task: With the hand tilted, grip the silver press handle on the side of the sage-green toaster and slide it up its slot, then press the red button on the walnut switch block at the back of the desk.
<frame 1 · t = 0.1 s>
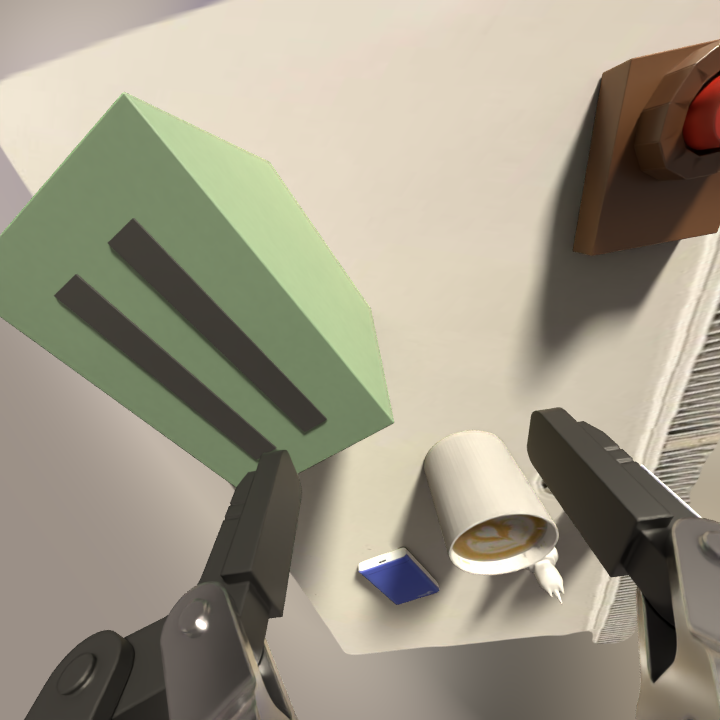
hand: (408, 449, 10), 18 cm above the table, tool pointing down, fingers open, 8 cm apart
white seated figurine: (527, 536, 44), on the table
hard drive: (399, 570, 47), on the table
toaster: (285, 274, 24), on the table
coffee mug: (467, 468, 36), on the table
switch block: (649, 160, 21), on the table
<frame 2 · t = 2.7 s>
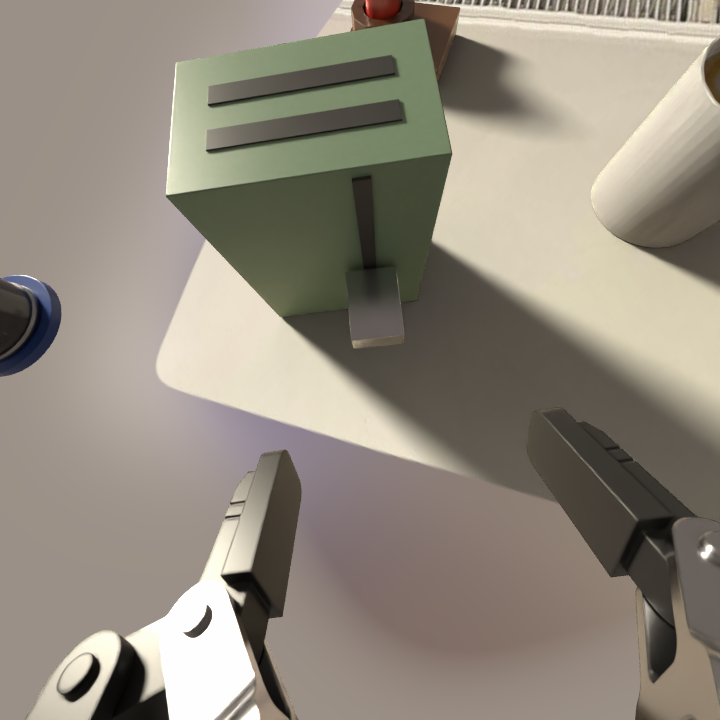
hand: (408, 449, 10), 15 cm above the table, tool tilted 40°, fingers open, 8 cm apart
toaster lever: (374, 308, 20), point 6 cm above the table, slide at 0.0 cm
toaster: (343, 269, 28), on the table
coffee mug: (665, 203, 27), on the table
switch block: (399, 55, 34), on the table
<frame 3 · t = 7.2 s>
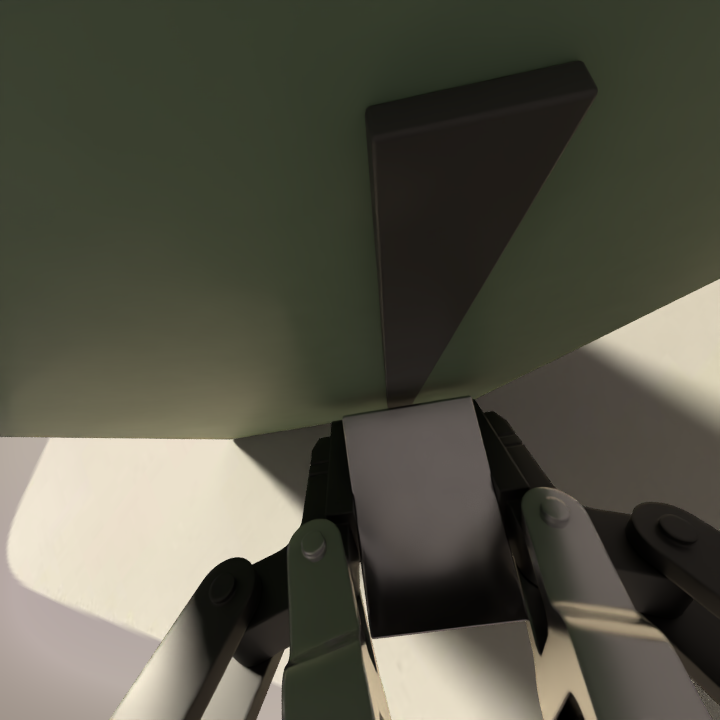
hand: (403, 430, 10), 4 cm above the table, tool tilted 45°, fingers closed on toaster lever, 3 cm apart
toaster lever: (421, 499, 8), point 6 cm above the table, slide at 0.0 cm, touching gripper
toaster: (338, 345, 16), on the table
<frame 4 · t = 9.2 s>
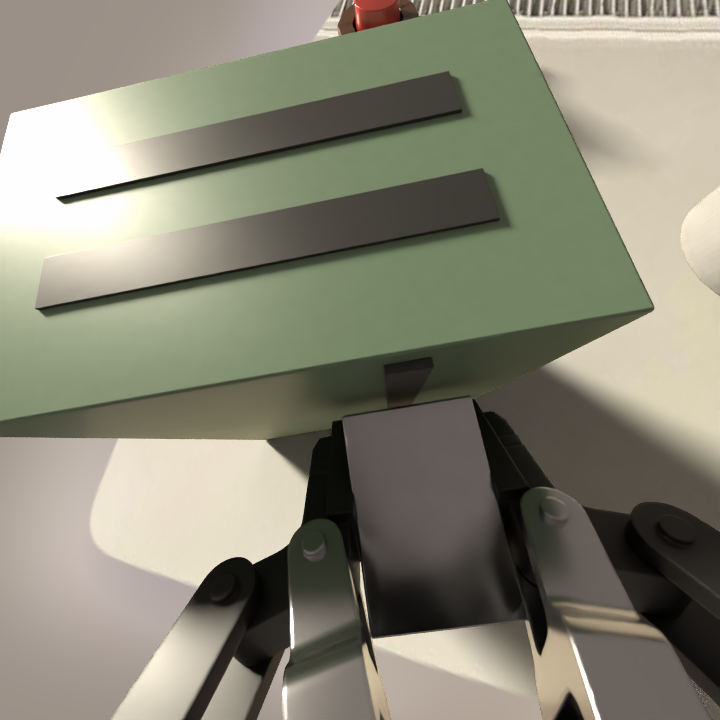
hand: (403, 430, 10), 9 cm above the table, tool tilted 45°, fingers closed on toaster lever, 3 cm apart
toaster lever: (421, 499, 8), point 11 cm above the table, slide at 4.3 cm, touching gripper
toaster: (349, 364, 21), on the table
power button: (377, 11, 24), point 4 cm above the table, slide at 0.1 cm
switch block: (399, 79, 28), on the table
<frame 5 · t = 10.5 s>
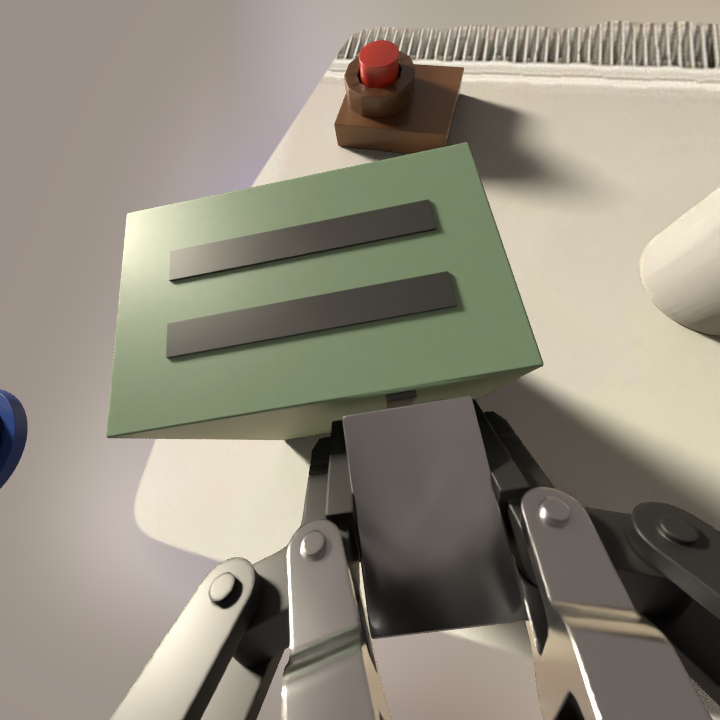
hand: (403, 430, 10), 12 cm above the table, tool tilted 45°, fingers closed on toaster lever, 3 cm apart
toaster lever: (421, 499, 8), point 14 cm above the table, slide at 7.9 cm, touching gripper
toaster: (355, 375, 24), on the table
power button: (379, 65, 27), point 4 cm above the table, slide at 0.1 cm
switch block: (398, 118, 31), on the table
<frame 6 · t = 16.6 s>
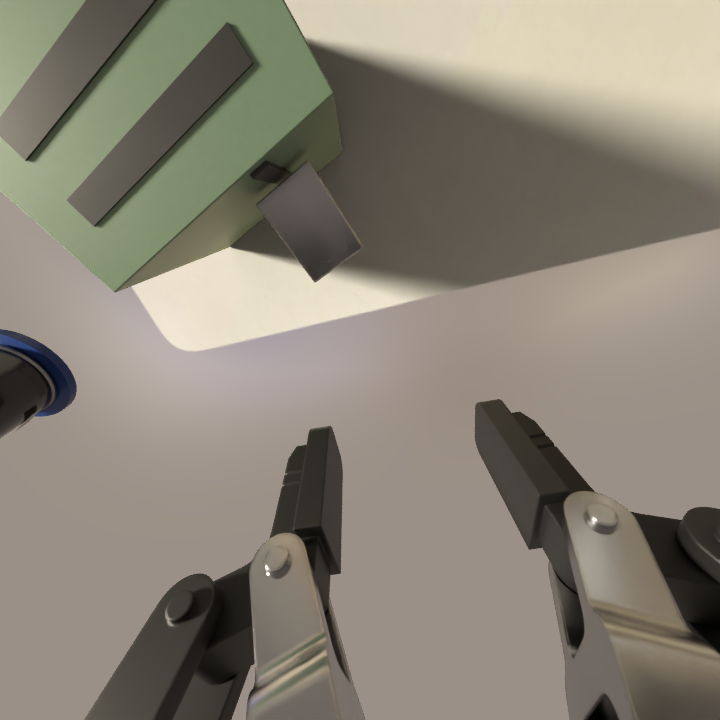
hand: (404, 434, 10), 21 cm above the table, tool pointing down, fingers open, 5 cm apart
toaster lever: (313, 225, 17), point 11 cm above the table, slide at 4.0 cm
toaster: (247, 154, 24), on the table
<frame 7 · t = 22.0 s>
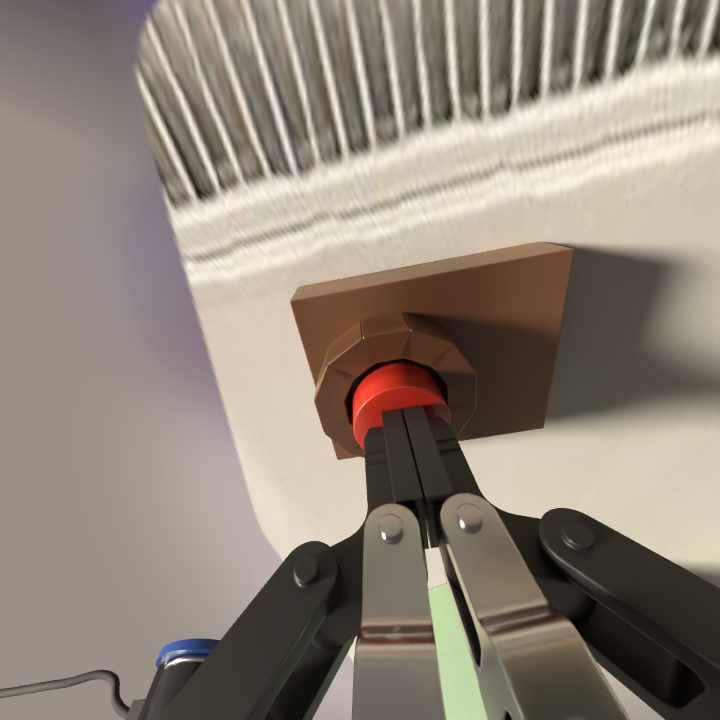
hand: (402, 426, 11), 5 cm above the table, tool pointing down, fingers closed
toaster: (474, 596, 28), on the table
power button: (398, 412, 11), point 4 cm above the table, slide at 0.1 cm, touching gripper
switch block: (423, 351, 15), on the table
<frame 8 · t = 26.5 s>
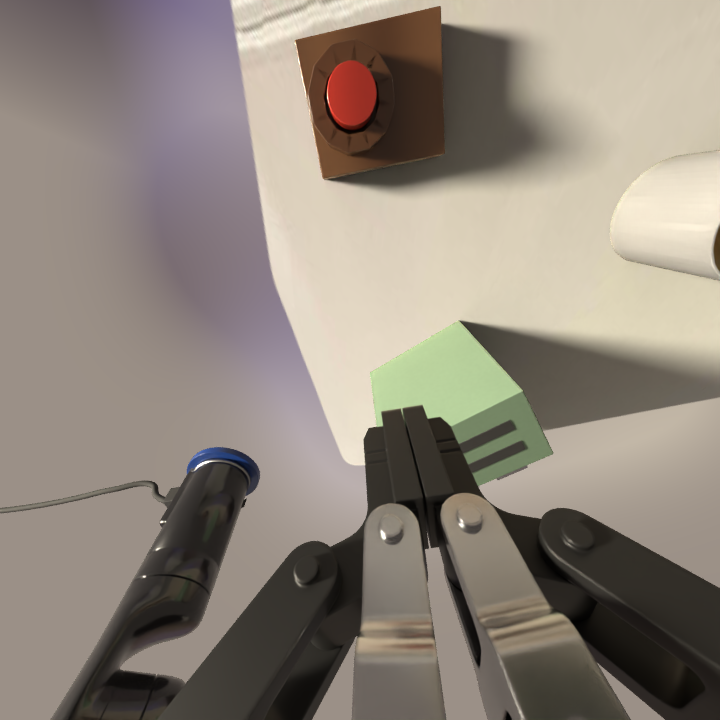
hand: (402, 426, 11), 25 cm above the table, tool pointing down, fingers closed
toaster lever: (500, 454, 32), point 11 cm above the table, slide at 4.0 cm
toaster: (427, 370, 39), on the table
power button: (351, 97, 22), point 4 cm above the table, slide at 0.1 cm
coffee mug: (675, 205, 30), on the table
switch block: (373, 108, 26), on the table
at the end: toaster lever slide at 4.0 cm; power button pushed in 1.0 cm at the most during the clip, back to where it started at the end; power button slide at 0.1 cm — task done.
